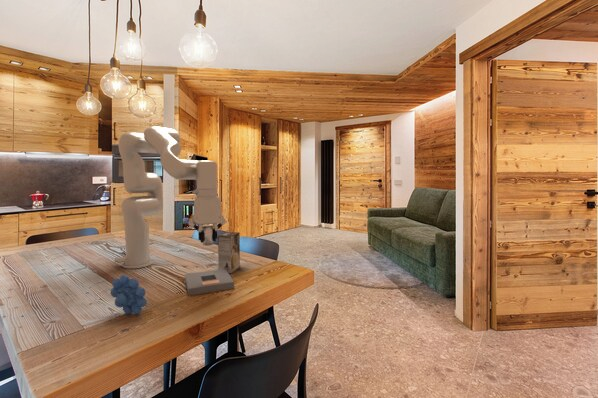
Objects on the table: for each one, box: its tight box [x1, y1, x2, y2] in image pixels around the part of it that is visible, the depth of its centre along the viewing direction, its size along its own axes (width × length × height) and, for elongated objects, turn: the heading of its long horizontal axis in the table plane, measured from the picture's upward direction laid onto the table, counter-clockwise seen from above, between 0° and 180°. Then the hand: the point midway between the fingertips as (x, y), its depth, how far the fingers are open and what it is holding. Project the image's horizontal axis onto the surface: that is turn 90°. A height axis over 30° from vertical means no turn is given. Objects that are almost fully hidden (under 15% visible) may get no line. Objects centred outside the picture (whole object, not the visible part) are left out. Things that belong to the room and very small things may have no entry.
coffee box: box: [217, 231, 241, 274], centre depth 128 cm, size 9×6×16 cm
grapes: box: [110, 274, 148, 315], centre depth 86 cm, size 12×7×12 cm, turn 81°
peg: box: [202, 224, 215, 246], centre depth 110 cm, size 4×4×7 cm
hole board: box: [184, 269, 235, 296], centre depth 112 cm, size 16×16×3 cm
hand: (208, 240), depth 110 cm, fingers closed on peg, 4 cm apart
